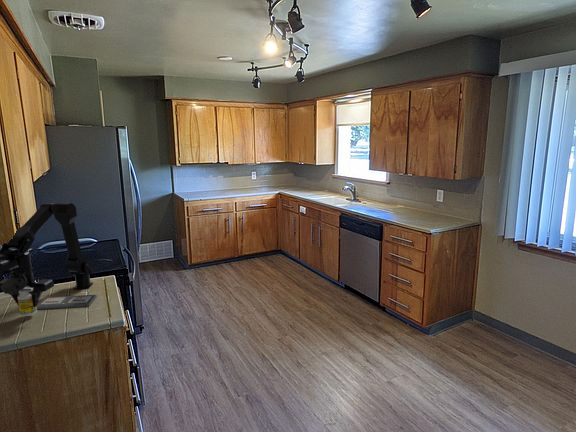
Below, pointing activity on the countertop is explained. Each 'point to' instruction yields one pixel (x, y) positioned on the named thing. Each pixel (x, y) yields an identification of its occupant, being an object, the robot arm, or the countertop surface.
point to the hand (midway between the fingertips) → (27, 306)
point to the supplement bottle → (26, 302)
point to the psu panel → (66, 302)
